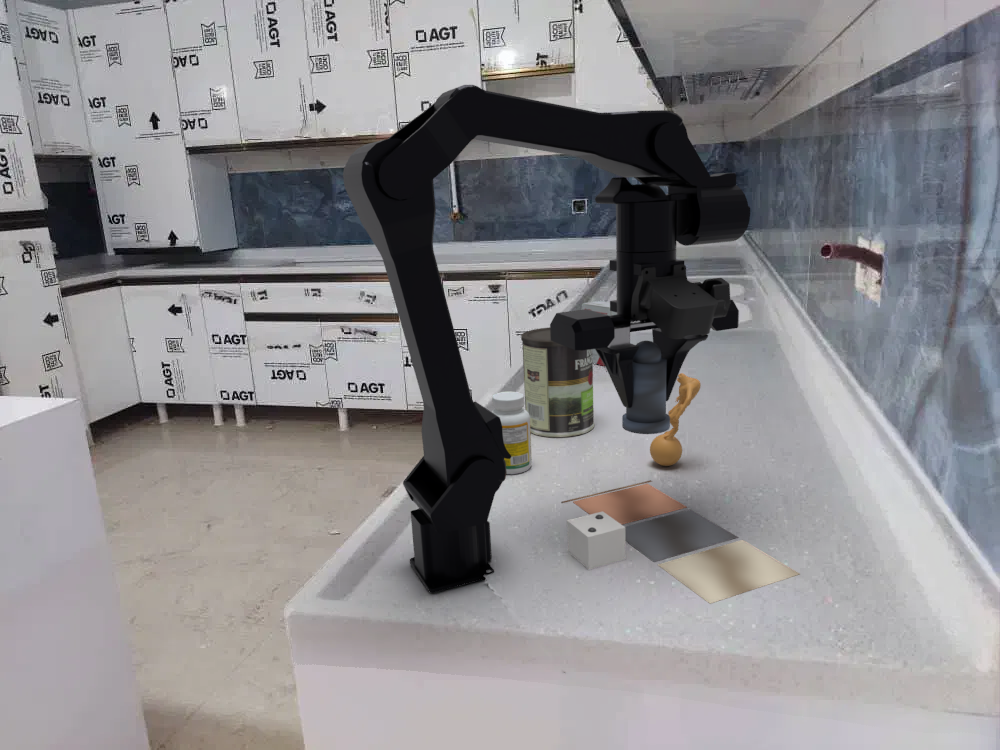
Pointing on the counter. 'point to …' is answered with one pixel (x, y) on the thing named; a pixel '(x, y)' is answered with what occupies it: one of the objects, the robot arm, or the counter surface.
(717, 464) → the counter surface
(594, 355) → the ink box
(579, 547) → the white die
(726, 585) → the game board
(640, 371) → the pawn
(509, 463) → the supplement bottle
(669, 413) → the figurine
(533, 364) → the coffee can
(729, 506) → the counter surface
